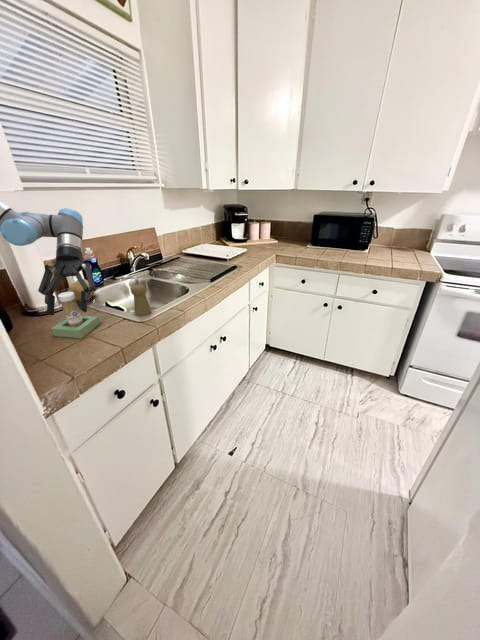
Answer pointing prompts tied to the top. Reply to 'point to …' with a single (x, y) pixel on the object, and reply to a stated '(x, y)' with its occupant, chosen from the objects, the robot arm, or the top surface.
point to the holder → (76, 332)
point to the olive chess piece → (140, 300)
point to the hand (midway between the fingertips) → (67, 312)
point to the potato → (78, 289)
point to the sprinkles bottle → (70, 309)
